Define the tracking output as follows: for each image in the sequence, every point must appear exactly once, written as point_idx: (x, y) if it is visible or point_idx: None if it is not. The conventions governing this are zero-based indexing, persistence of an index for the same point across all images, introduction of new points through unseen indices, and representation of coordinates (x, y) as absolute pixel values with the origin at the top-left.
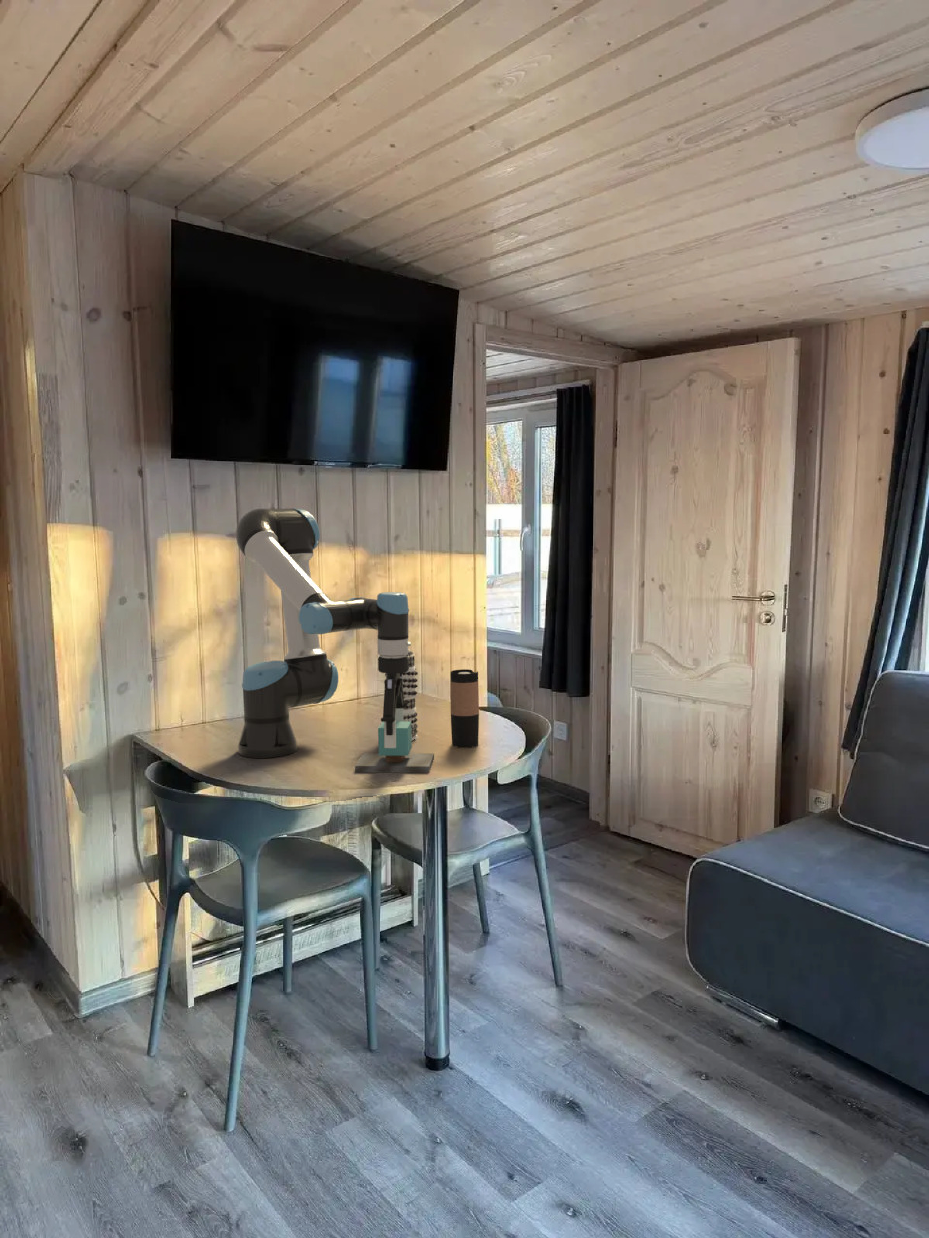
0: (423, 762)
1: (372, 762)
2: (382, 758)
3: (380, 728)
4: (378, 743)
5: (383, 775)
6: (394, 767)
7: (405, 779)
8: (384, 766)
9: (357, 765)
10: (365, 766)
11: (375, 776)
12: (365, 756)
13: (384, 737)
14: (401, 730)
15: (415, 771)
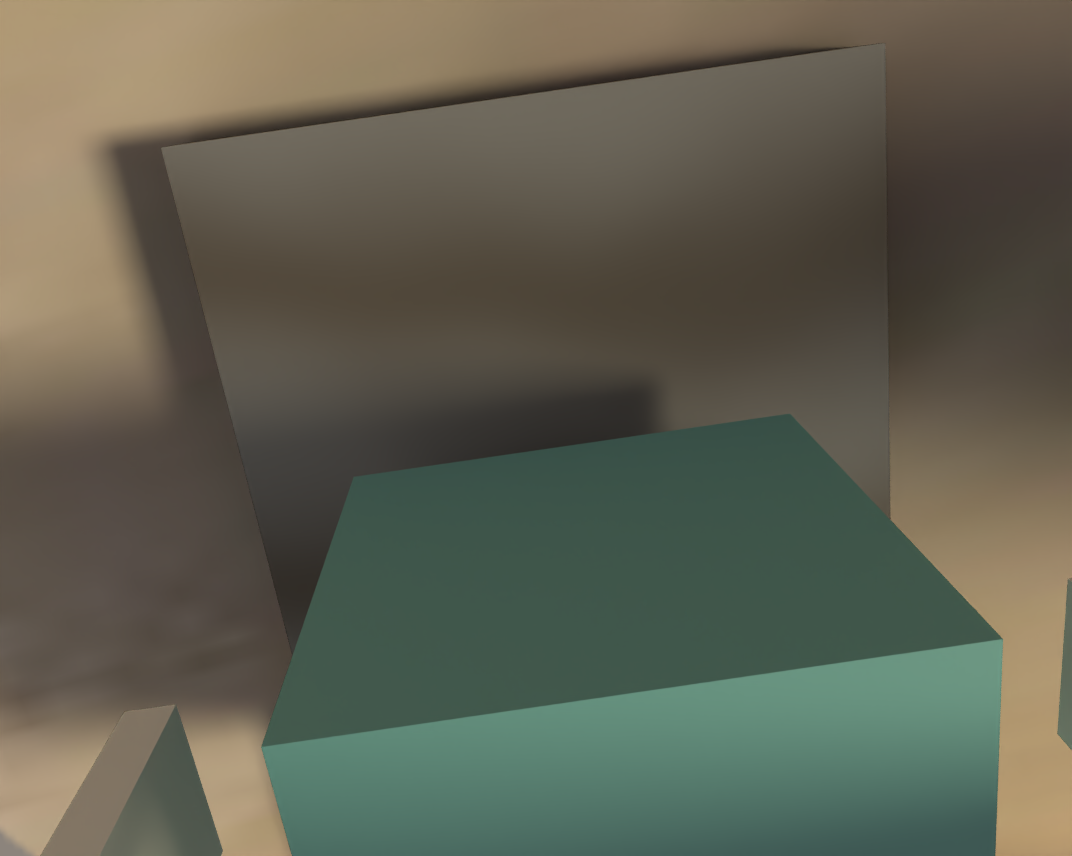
0: None
1: (392, 339)
2: (613, 408)
3: (281, 785)
4: (325, 561)
5: (153, 529)
6: (291, 640)
7: (84, 775)
8: (264, 535)
9: (194, 176)
10: (204, 297)
11: (86, 455)
12: (686, 136)
13: (49, 847)
14: None
15: None
